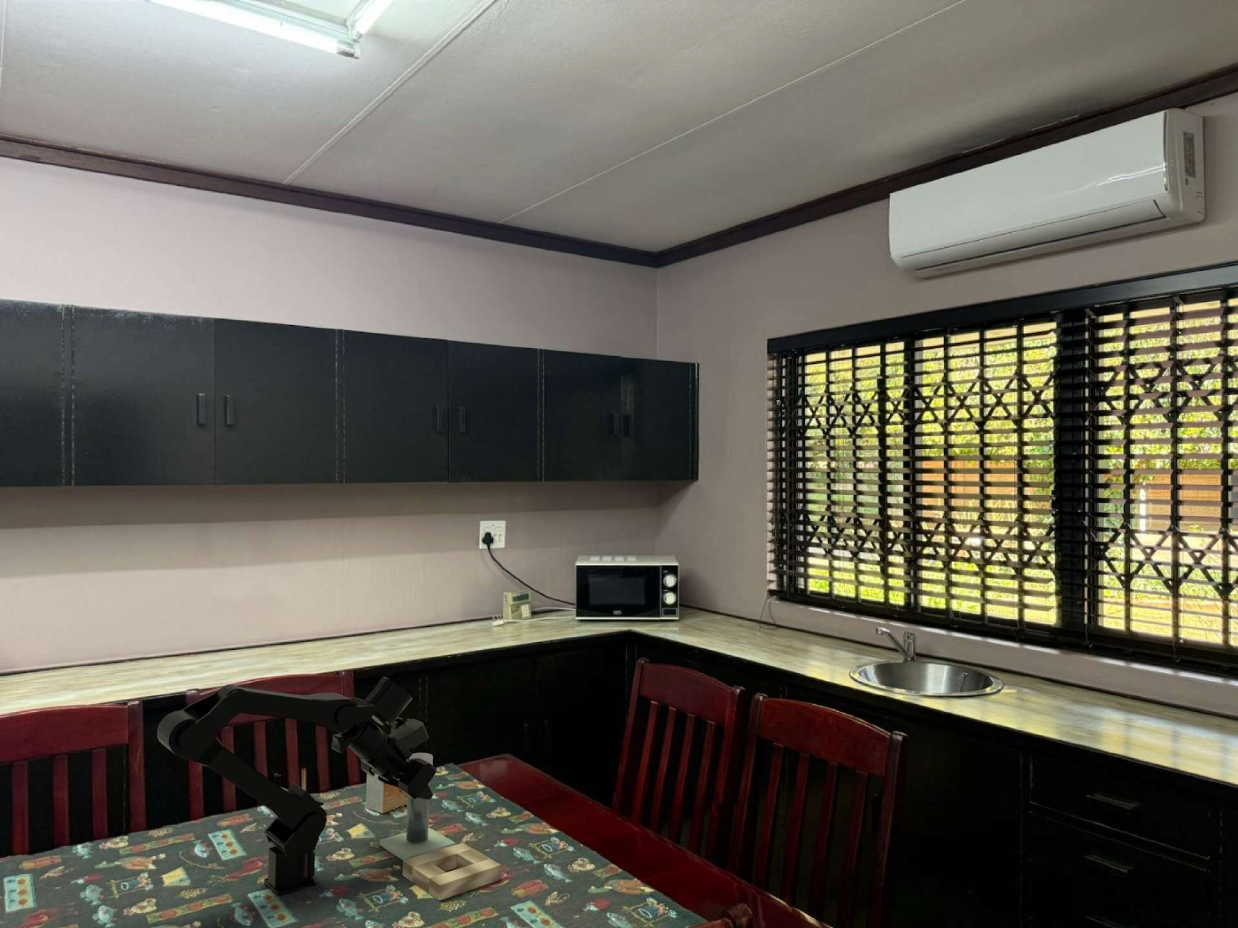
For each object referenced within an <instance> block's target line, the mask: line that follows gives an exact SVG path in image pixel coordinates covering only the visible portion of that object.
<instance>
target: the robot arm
mask: <svg viewBox="0 0 1238 928" xmlns="http://www.w3.org/2000/svg"><path fill="white" fill-rule="evenodd" d="M412 700H413V697H412V695H411V694H410V693H409V692H408V691H407V690H406V689H404V688H402V687H400V685H398V684H397V683H395V682H393V681H392V680H391V679H390V678H388V677H386V676H382V677H381V678H380V679H379V681H377V685H376V686H375V687H374V689H373V690H372V691H371V692H370V693H369V694H368V695H367V697H365V699H364V700H363V699H361V698H358V697H347V696H344V695H342V694H340V693H337V692H318V693H312V694H306V695H303V694H301V695H300V694H291V693H285V692H278V691H271V690H270V691H269V690H265V689H264V690H263V689H258V688H257V689H256V688H249V687H242V686H241V687H240V686H238V685H235V684H226V685H224V686H222V687H220V688H219V689H217V690H216V691H215V692H213V693H211V694H209V695H207V696H205V697H203V698H200V699H198V700H196V701H194V702H192V703H190V704H188V705H187V706H186V707H184V708H183V709H181V710H175V711H173V712H172V711H171V712H170V713H168V714H166V715H165V716H164V717H163V718H162V719H161V721H160V722H159V724H158V727H157V729H156V730H157V731H156V734H157V736H156V737H157V739H158V741H159V743H161V745H163V746H164V747H165V748H166V749H168V750H169V751H170V752H172V753H173V754H174V755H176V756H177V757H180V758H183V759H185V760H186V761H190V762H192V763H194V764H198V765H201V766H204V767H206V768H208V769H209V768H210V770H212V771H213V772H215V773H217V774H218V775H219V776H220V777H222V778H224V780H226V781H228V782H229V783H231V784H233V785H234V786H236V788H239V789H240V790H241V791H243V792H244V793H246V795H248V796H250V797H251V798H253V799H254V800H255V801H257V802H259V803H260V804H261V805H263V806H264V807H265V808H266V809H267V810H268V811H269V812H270V814H271V815H272V816H273V817H274V820H272V822H271V823H270V824H269V825H268V826H267V828H266V829H265V830H264V835H265V838H266V841H267V842H268V843H269V844H271V845H272V846H271V847H269V848H268V865H267V867H268V869H267V873H268V875H267V877H265V878H264V879H263V883H264V884H265V885H266V886H267V887H268V888H270V890H272V891H273V892H274V893H275V894H276V895H278V896H281V895H285V894H287V893H292V892H294V891H298V890H301V889H304V888H308V887H311V886H315V885H317V880H316V879H314V877H315V873H316V872H315V870H316V852H315V850H316V847H317V844H318V842H319V839H320V836H321V834H322V832H323V831H324V829H325V827H326V825H327V822H328V820H327V819H328V813H327V811H326V810H325V808H323V807H322V806H324V804H325V802H323V801H322V800H320V799H318V798H317V797H315V796H314V795H312V794H310V793H309V792H308V791H307V790H305V788H302V787H301V786H299V785H298V784H296V783H295V782H293V781H292V782H291V784H290V785H289V787H288V788H285V787H282V786H280V785H278V784H277V783H276V782H274V781H272V780H271V778H269V777H267V776H266V775H264V774H263V773H261V772H260V771H259V770H257V769H256V768H254V767H253V766H252V765H250V764H249V763H247V762H246V761H244V760H243V759H242V758H241V757H239V756H237V755H236V754H234V753H233V752H232V751H231V750H229V749H228V748H226V747H225V745H224V744H223V743H222V742H221V741H220V739H219V738H218V737H217V735H218V734H219V733H220V732H222V731H223V730H224V728H225V727H226V726H227V725H228V724H229V723H230V722H231V721H232V720H233V719H234V718H235V717H236V716H238V715H240V714H246V715H254V716H261V717H262V716H263V717H270V718H278V719H287V720H288V719H289V720H294V721H295V720H296V721H304V722H306V723H310V724H313V725H315V726H317V727H320V728H324V729H327V730H329V731H333V732H335V733H337V734H333V735H332V742H331V749H332V750H334V751H336V752H338V753H340V754H343V753H344V752H345V751H346V750H347V748H349V749H350V750H352V752H353V753H354V754H356V755H357V756H358V757H359V758H358V759H359V760H360V769H361V770H362V771H364V772H365V773H366V775H367V774H369V775H371V776H372V777H374V776H375V774H376V775H378V780H379V781H381V782H383V783H385V784H389V785H392V786H395V787H398V789H399V791H400V792H401V793H403V794H405V795H407V796H409V797H411V798H412V799H416V798H418V797H419V798H424V799H428V800H429V801H430V800H432V798H433V796H434V793H433V791H432V789H431V786H430V787H429V785H428V783H429V782H430V783H431V780H432V779H433V778H434V777H435V776H436V774H437V770H438V769H437V768H436V767H435V766H434V764H433V765H432V764H431V763H429V762H427V761H425V760H422V759H417V760H414V761H412V762H411V763H410V762H408V761H406V760H407V759H409V758H410V757H411V756H412V754H413V753H412V752H411V750H413V749H415V748H416V747H418V746H419V745H421V744H422V743H424V742H427V741H428V740H429V738H430V737H429V735H428V732H427V729H426V727H425V724H424V722H423V721H420V720H418V719H415V718H409V717H408V718H407V719H406V720H405V719H404V718H402V717H399V716H400V715H401V713H402V712H404V710H405V708H406V707H407V706H408V704H410V702H411V701H412ZM371 719H372V720H371ZM373 720H374V721H375V722H376V723H378V724H380V725H381V726H385V725H386V724H387V725H389V726H390V725H391V730H390V732H391V733H389V734H388V733H386V732H384V731H383V730H382V729H381V728H380V727H379V726H378V725H377V724H376V723H375V722H374V721H373ZM407 768H408V769H407ZM372 769H373V771H372Z"/></svg>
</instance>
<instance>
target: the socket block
mask: <svg viewBox="0 0 1238 928" xmlns="http://www.w3.org/2000/svg"><path fill="white" fill-rule="evenodd" d="M402 876H403V877H405V878H406V879H407V880H409V881H410V882H412V883H413V884H414V885H416V886H417V887H419V888H420V889H422V890H423V891H425V892H426V893H428V894H429V895H431V896H432V897H433V898H435V899H436V900H437V901H443V900H445V899H449V898H450V897H453V896H457V895H460V894H462V893H465V892H468V891H471V890H475V889H477V888H480V887H482V886H485V885H489V884H492V883H494V882H497V881H500V879H501V876H502V864H501V863H499V862H497V861H495V860H493V859H492V858H490V857H488V856H486V855H485V854H483V853H481V852H479V851H478V850H475V848H473V847H471V846H469V845H467V844H466V843H464V842H461V843H458V844H455V845H454V846H451V847H447V848H444V849H441V850H437V851H434V852H431V853H427V854H424V855H421V856H417V857H414V858H411V859H407V860H404V861H403V860H402Z"/></svg>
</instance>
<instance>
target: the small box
mask: <svg viewBox="0 0 1238 928" xmlns="http://www.w3.org/2000/svg"><path fill="white" fill-rule="evenodd" d="M372 771H373V769H372ZM365 791H366V792H365V793H366V794H365V808H366V809H369V810H371V811H375V812H377V813H380V814H385V813H388V812H390V811H393V810H396V808H397V809H400V808H401V807H400V806H403V807H405V806H404V805H407V795H405V794H403V793H401V792H400V791H399V789H398V787H395V786H392V785H389V784H385V783H383V782H381V781H379V780H378V775H376V774H375V776H374V777H372V776H371V775H369V774H367V773H366V789H365ZM399 807H400V808H399Z"/></svg>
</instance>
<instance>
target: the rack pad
mask: <svg viewBox="0 0 1238 928" xmlns="http://www.w3.org/2000/svg"><path fill="white" fill-rule="evenodd" d="M454 845H456V842H455V841H453V840H451V839H450V838H449V837H446V836H444V835H443V834H441V833H440V832H437V831H436V830H434V829H433V828H430V827H429V828H428V839H427V840H426V841H423V842H417V843H413V842H409V841H407V840H406V832H402V833H399V834H396V835H392V836H389V837H385V838H382V839H380V840H379V846H381V847H382V848H383V849H385V850H386V851H388V852H390V853H391V854H392V855H394V856H396V857H397V858H399V859H400V860H401V861H402V862H403V861H404V860H407V859H411V858H414V857H417V856H421V855H424V854H427V853H431V852H434V851H437V850H441V849H444V848H447V847H451V846H454Z"/></svg>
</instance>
